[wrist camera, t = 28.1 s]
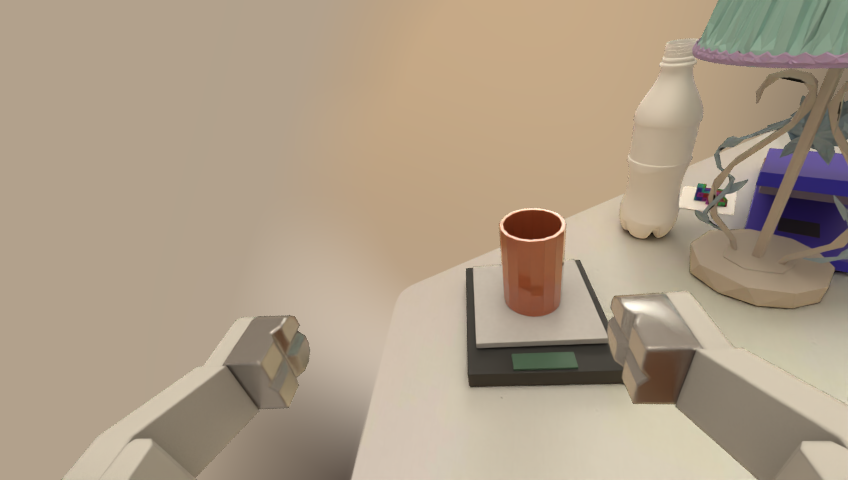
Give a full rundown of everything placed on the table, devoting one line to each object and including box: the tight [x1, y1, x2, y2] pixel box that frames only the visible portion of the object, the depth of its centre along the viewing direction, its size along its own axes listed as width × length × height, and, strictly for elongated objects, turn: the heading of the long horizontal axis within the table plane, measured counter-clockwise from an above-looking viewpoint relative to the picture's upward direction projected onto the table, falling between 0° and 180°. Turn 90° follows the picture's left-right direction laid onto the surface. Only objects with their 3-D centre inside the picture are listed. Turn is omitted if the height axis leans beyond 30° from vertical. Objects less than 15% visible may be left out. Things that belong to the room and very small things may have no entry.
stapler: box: [745, 148, 848, 273], centre depth 48 cm, size 12×28×10 cm, turn 139°
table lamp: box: [690, 0, 848, 308], centre depth 32 cm, size 22×22×40 cm
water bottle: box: [619, 39, 703, 238], centre depth 46 cm, size 7×7×25 cm
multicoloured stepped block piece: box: [693, 183, 729, 208], centre depth 56 cm, size 4×3×2 cm, turn 52°
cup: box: [499, 208, 566, 317], centre depth 39 cm, size 6×6×10 cm
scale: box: [466, 259, 624, 387], centre depth 41 cm, size 15×17×3 cm
